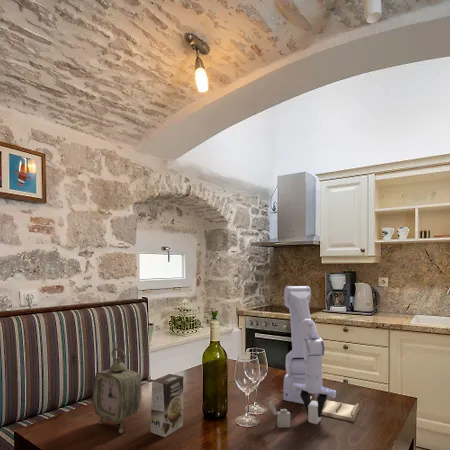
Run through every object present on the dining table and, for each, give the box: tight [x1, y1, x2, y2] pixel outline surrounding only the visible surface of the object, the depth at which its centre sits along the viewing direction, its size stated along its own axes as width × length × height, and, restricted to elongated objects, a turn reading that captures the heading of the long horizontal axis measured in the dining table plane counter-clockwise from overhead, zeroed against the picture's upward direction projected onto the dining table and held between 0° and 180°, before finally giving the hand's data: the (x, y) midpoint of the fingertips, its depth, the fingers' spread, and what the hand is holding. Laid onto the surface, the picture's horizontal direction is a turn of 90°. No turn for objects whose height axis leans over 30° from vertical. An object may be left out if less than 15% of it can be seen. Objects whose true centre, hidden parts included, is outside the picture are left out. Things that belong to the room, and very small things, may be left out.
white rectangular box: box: [307, 399, 322, 425], centre depth 125 cm, size 3×5×6 cm, turn 151°
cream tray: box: [314, 394, 360, 422], centre depth 132 cm, size 14×11×7 cm
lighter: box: [268, 400, 291, 428], centre depth 121 cm, size 7×2×8 cm, turn 93°
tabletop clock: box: [92, 347, 142, 434], centre depth 122 cm, size 14×9×25 cm, turn 55°
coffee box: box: [150, 373, 184, 438], centre depth 119 cm, size 9×6×16 cm
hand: (314, 415), depth 125 cm, fingers closed on white rectangular box, 3 cm apart
